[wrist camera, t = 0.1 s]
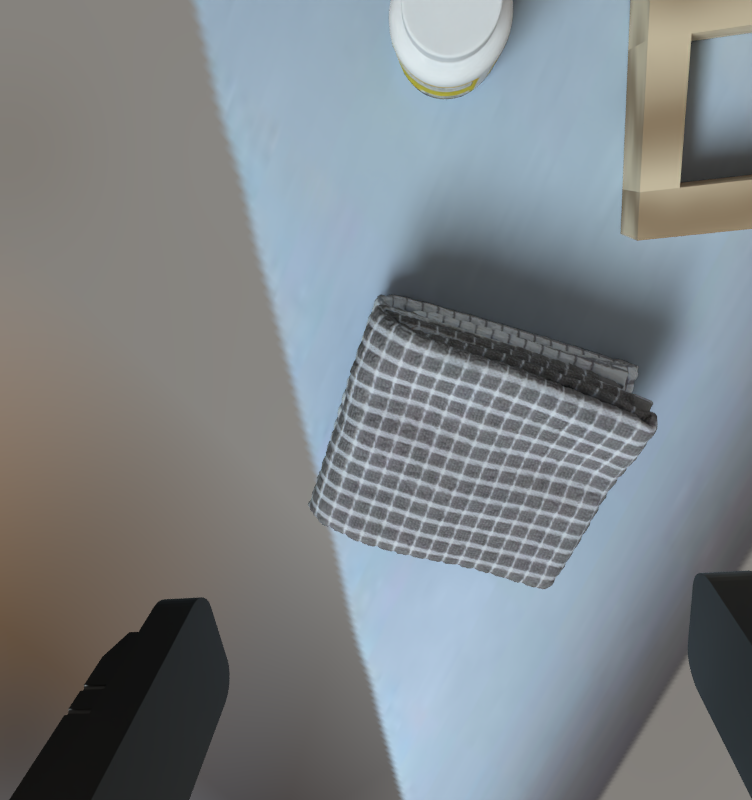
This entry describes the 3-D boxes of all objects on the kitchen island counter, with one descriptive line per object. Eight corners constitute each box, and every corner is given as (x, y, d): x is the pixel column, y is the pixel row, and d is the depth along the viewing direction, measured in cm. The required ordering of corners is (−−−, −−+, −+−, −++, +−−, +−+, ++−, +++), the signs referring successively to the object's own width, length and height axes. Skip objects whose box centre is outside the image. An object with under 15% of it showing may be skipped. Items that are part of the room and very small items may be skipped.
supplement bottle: (457, -42, 30) (468, -127, 21) (517, 51, 31) (553, 8, 22) (376, 38, 32) (355, -10, 23) (437, 122, 33) (440, 109, 24)
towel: (376, 279, 37) (363, 309, 30) (645, 364, 38) (697, 414, 30) (318, 475, 43) (295, 539, 36) (551, 545, 44) (575, 623, 36)
